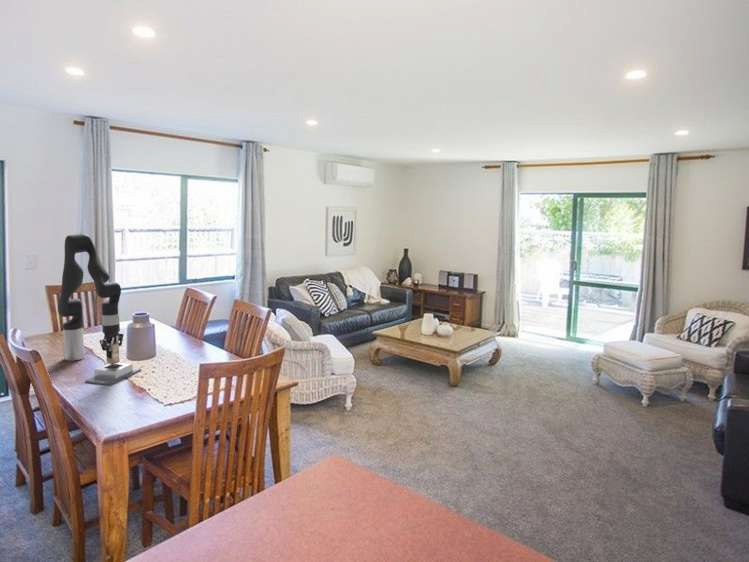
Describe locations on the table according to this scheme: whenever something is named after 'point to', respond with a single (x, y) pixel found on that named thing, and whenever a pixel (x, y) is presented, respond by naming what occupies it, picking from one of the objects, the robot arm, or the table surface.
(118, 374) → the square peg board
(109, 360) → the wooden square peg
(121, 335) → the robot arm
